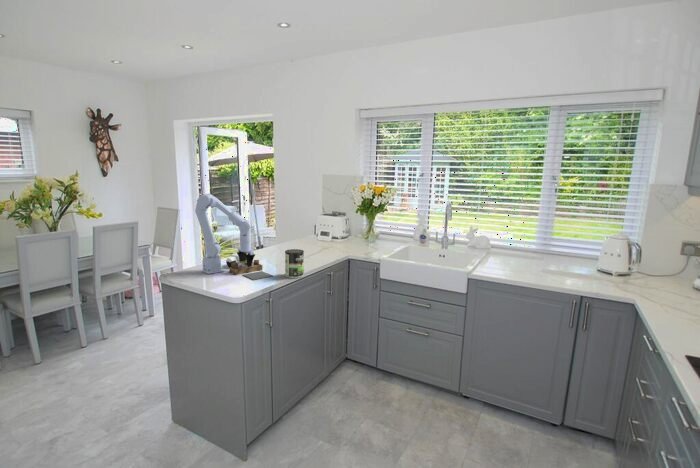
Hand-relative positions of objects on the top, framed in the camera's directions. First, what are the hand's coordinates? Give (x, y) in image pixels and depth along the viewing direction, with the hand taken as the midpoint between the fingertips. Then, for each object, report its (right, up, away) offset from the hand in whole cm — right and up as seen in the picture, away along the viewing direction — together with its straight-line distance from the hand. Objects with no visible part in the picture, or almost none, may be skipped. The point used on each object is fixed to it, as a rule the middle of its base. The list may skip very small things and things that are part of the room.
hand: (246, 265), depth 213 cm
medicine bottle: (-5, +3, +16) cm, 17 cm away
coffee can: (+29, -6, -6) cm, 30 cm away
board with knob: (0, -4, +1) cm, 4 cm away
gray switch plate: (+9, -5, -9) cm, 13 cm away
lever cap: (0, -1, 0) cm, 1 cm away
